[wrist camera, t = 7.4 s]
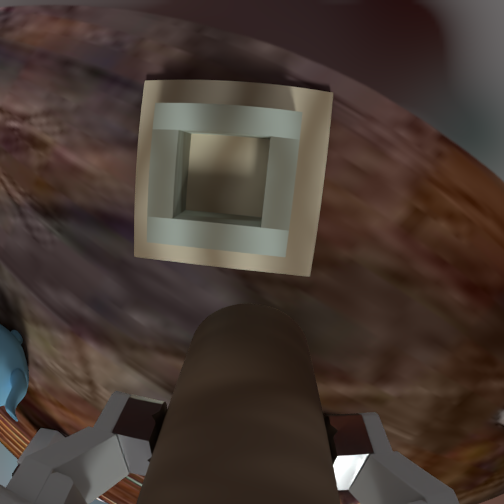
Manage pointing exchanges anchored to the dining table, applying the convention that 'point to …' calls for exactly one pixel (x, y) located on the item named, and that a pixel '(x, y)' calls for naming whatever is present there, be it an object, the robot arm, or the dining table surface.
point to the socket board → (231, 174)
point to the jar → (40, 443)
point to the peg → (243, 418)
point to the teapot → (12, 370)
